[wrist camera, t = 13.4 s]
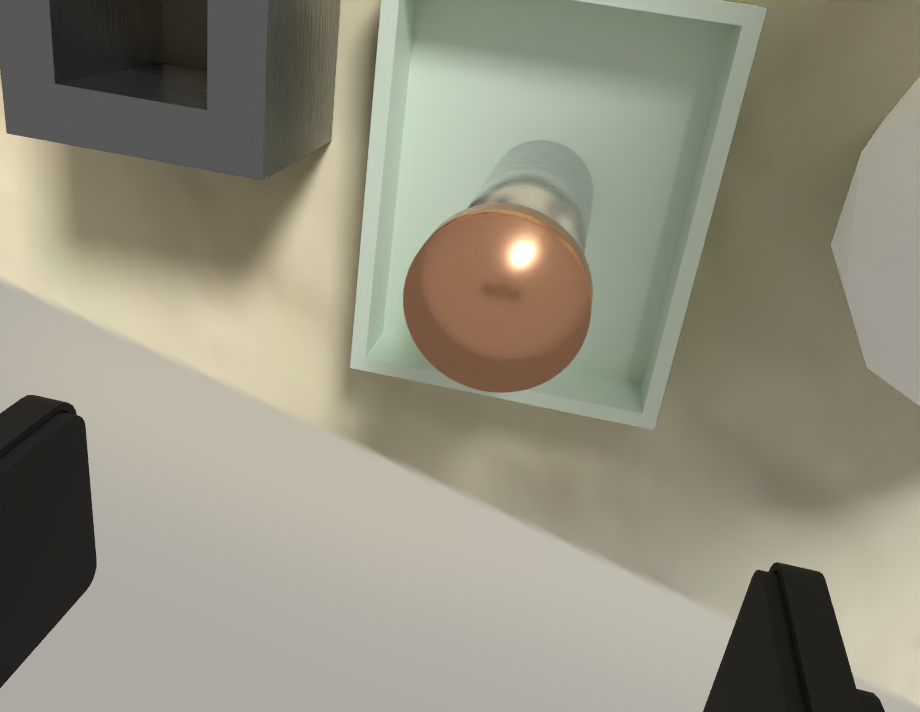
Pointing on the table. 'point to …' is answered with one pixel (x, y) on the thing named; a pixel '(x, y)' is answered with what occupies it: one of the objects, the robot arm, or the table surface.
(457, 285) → the pin
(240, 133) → the hitch block
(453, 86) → the tray
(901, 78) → the table surface
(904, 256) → the geodesic sphere
